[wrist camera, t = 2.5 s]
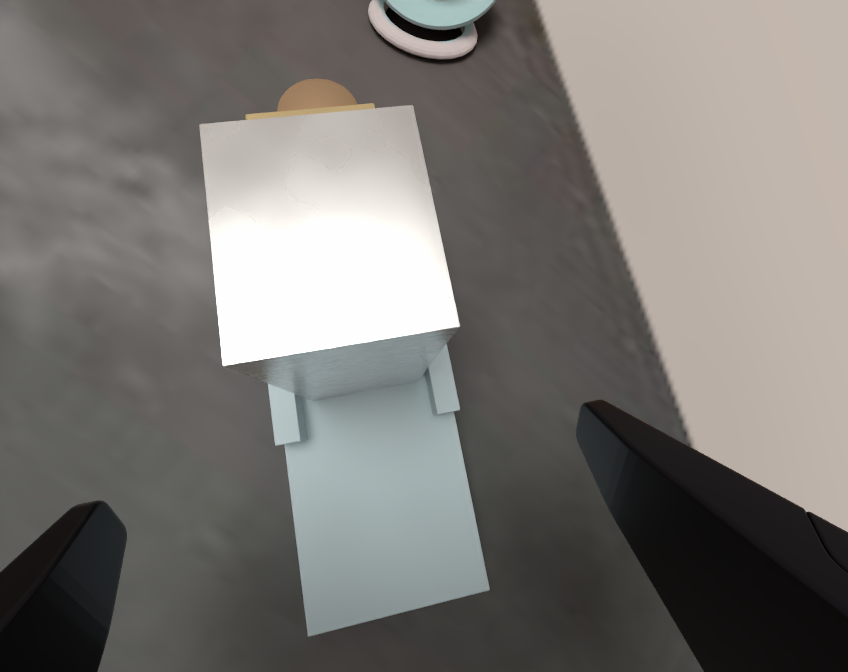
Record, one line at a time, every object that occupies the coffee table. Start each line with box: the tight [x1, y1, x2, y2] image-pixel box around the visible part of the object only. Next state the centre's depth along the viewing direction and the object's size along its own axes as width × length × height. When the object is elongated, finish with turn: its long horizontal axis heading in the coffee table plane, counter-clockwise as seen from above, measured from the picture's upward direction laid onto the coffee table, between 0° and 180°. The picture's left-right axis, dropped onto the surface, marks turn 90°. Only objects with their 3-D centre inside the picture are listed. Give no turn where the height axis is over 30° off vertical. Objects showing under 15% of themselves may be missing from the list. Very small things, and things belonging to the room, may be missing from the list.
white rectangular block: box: [199, 103, 460, 401], centre depth 13 cm, size 6×4×10 cm
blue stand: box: [268, 79, 490, 637], centre depth 18 cm, size 22×7×5 cm, turn 11°
